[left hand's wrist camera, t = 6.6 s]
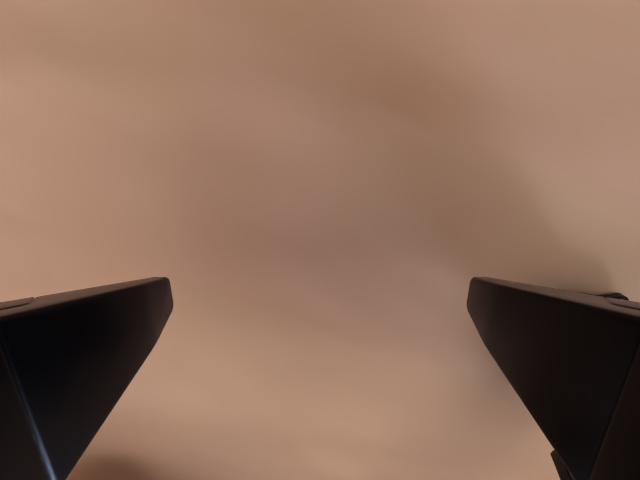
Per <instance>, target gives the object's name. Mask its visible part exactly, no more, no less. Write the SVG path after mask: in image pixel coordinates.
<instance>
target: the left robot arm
mask: <svg viewBox="0 0 640 480" xmlns="http://www.w3.org/2000/svg"><path fill="white" fill-rule="evenodd" d="M172 309H173V298H172V292H171V286H170V281H169V279H168V278H166V277H152V278H146V279H140V280H135V281H129V282H123V283H117V284H111V285H105V286H99V287H93V288H87V289H81V290H75V291H69V292H64V293H58V294H52V295H46V296H40V297H36V298H34V297H31V298H25V299H19V300H13V301H7V302H1V303H0V480H66V478H67V477H68V475H69V474H70V472H71V471H72V469H73V468H74V466H75V465H76V463H77V462H78V460H79V459H80V457H81V456H82V454H83V453H84V451H85V450H86V448H87V447H88V445H89V444H90V442H91V441H92V439H93V438H94V436H95V435H96V433H97V432H98V430H99V429H100V427H101V426H102V424H103V423H104V421H105V420H106V418H107V417H108V415H109V414H110V412H111V411H112V409H113V408H114V406H115V405H116V403H117V402H118V400H119V399H120V397H121V396H122V394H123V393H124V391H125V390H126V388H127V387H128V385H129V384H130V382H131V381H132V379H133V378H134V376H135V375H136V373H137V372H138V370H139V369H140V367H141V366H142V364H143V363H144V361H145V360H146V358H147V357H148V355H149V354H150V352H151V351H152V349H153V347H154V346H155V344H156V342H157V340H158V339H159V337H160V335H161V332H162V330H163V328H164V326H165V324H166V322H167V320H168V318H169V316H170V314H171V312H172ZM467 309H468V312H469V314H470V316H471V318H472V320H473V322H474V324H475V326H476V328H477V330H478V332H479V335H480V337H481V339H482V340H483V342H484V344H485V346H486V347H487V349H488V351H489V352H490V354H491V355H492V357H493V358H494V360H495V361H496V363H497V364H498V366H499V367H500V369H501V370H502V372H503V373H504V375H505V376H506V378H507V379H508V381H509V382H510V384H511V385H512V387H513V388H514V390H515V391H516V393H517V394H518V396H519V397H520V399H521V400H522V402H523V403H524V405H525V406H526V408H527V409H528V411H529V412H530V414H531V415H532V417H533V418H534V420H535V421H536V423H537V424H538V426H539V427H540V429H541V430H542V432H543V433H544V435H545V436H546V438H547V439H548V441H549V442H550V444H551V445H552V447H553V448H554V451H552V452H551V457H552V459H553V462H554V464H555V467H556V469H557V472H558V474H559V477H560V479H561V480H640V303H639V302H633V301H629V299H628V298H627V297H626V296H624V295H623V294H621V293H613V294H606V295H589V294H583V293H577V292H571V291H565V290H559V289H553V288H547V287H541V286H535V285H529V284H523V283H517V282H511V281H506V280H500V279H494V278H488V277H474V278H472V279H471V281H470V286H469V292H468V298H467Z"/></svg>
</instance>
